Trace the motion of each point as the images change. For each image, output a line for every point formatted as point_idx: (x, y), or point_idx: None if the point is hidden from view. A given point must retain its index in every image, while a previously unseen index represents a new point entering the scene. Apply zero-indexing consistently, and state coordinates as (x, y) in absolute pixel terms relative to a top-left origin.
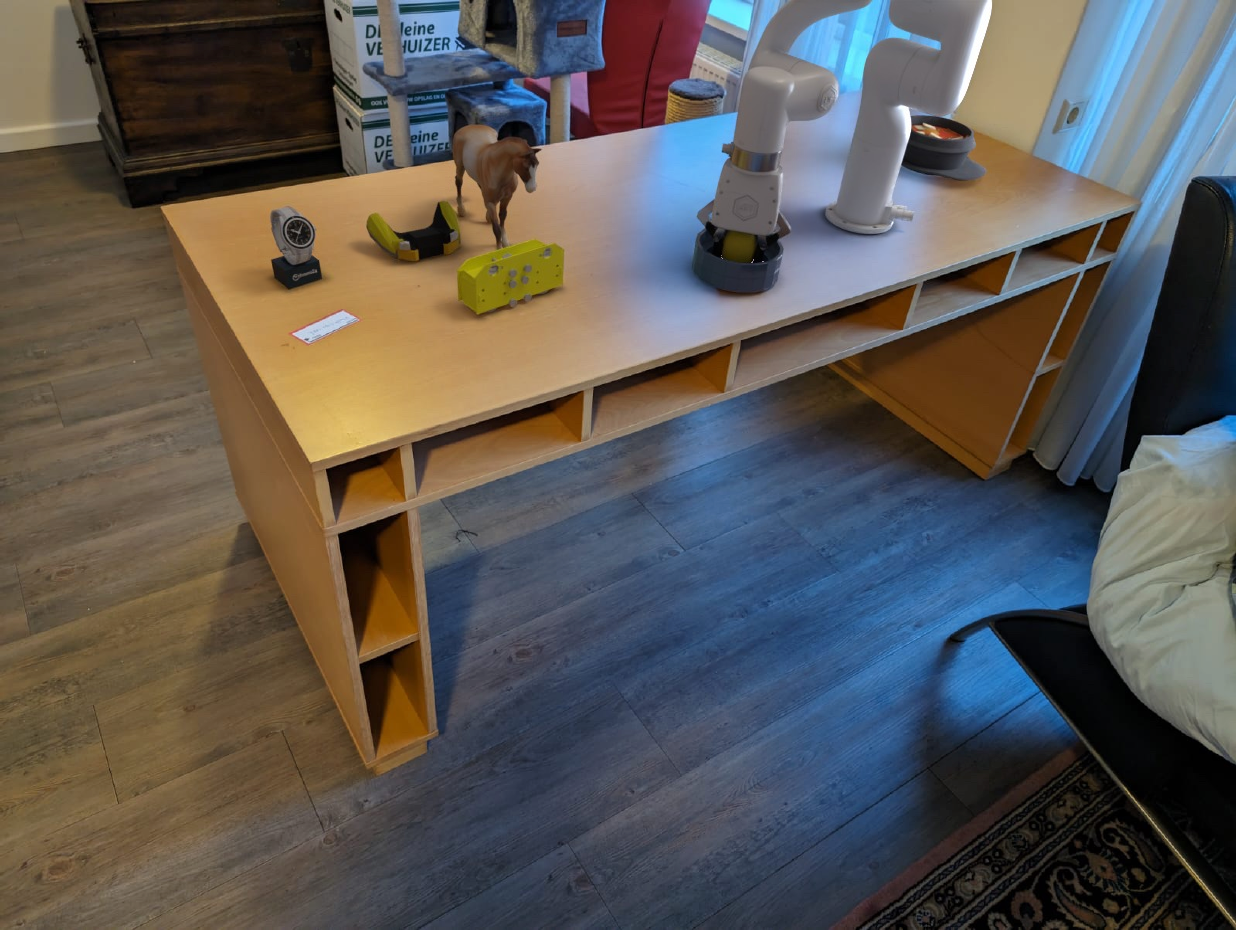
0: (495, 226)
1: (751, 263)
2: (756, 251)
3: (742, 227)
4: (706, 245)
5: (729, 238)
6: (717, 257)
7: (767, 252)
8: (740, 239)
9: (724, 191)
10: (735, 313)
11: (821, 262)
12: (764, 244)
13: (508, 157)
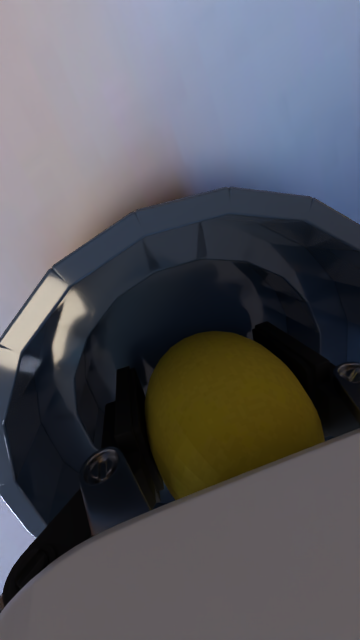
0: None
1: (85, 273)
2: (133, 425)
3: (315, 501)
4: None
5: (303, 403)
6: (298, 212)
7: None
8: (245, 421)
9: None
10: (60, 57)
11: (10, 561)
12: (99, 484)
13: None
